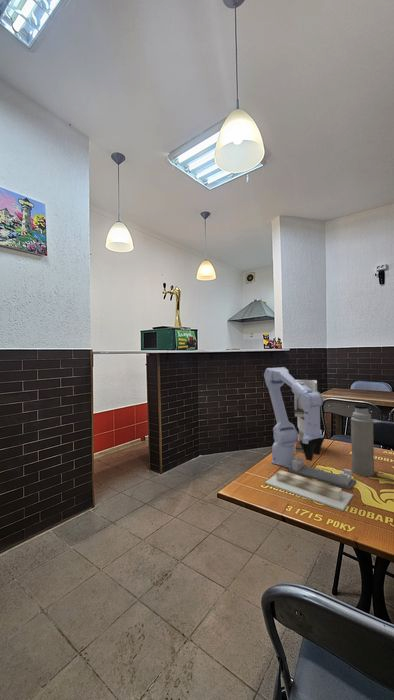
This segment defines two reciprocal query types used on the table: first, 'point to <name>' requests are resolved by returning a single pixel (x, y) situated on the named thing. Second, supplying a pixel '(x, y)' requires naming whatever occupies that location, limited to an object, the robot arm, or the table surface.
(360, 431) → the thermos bottle
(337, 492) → the rail
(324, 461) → the table surface
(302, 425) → the display case
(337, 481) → the rack
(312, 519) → the table surface
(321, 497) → the mat
